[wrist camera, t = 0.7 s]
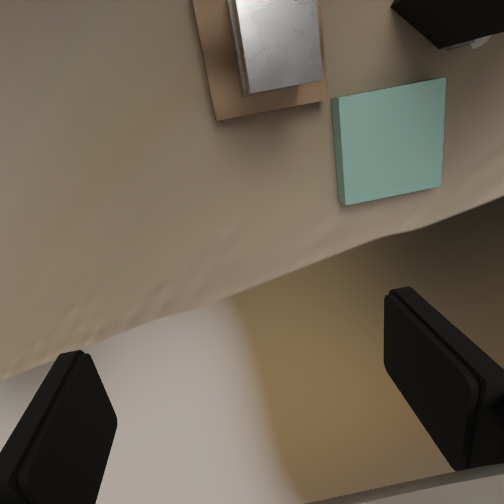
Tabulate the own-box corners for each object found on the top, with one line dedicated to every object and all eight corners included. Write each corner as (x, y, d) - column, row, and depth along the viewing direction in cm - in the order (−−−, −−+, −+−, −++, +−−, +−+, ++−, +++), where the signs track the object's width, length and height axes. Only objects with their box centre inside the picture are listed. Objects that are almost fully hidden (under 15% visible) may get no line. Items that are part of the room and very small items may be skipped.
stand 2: (331, 98, 32) (338, 97, 30) (433, 79, 33) (446, 77, 31) (338, 200, 36) (345, 205, 34) (429, 182, 37) (441, 186, 35)
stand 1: (190, -10, 28) (188, -18, 26) (309, -31, 28) (316, -40, 26) (216, 120, 32) (216, 121, 30) (320, 100, 32) (327, 99, 30)
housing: (225, 0, 27) (230, -36, 20) (287, -11, 27) (312, -50, 20) (241, 97, 29) (250, 93, 23) (298, 86, 30) (322, 79, 23)
